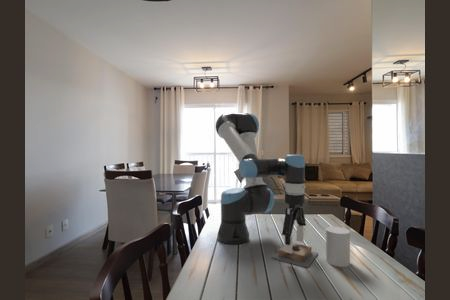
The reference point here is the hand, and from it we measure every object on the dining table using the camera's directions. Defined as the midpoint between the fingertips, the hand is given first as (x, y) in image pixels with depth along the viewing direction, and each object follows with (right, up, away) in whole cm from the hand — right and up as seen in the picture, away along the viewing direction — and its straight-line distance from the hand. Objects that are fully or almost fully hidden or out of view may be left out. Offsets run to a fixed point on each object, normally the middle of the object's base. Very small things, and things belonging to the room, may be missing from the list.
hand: (294, 246), depth 101 cm
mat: (0, -4, 0) cm, 4 cm away
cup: (+15, -4, -5) cm, 16 cm away
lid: (0, -3, 0) cm, 3 cm away
